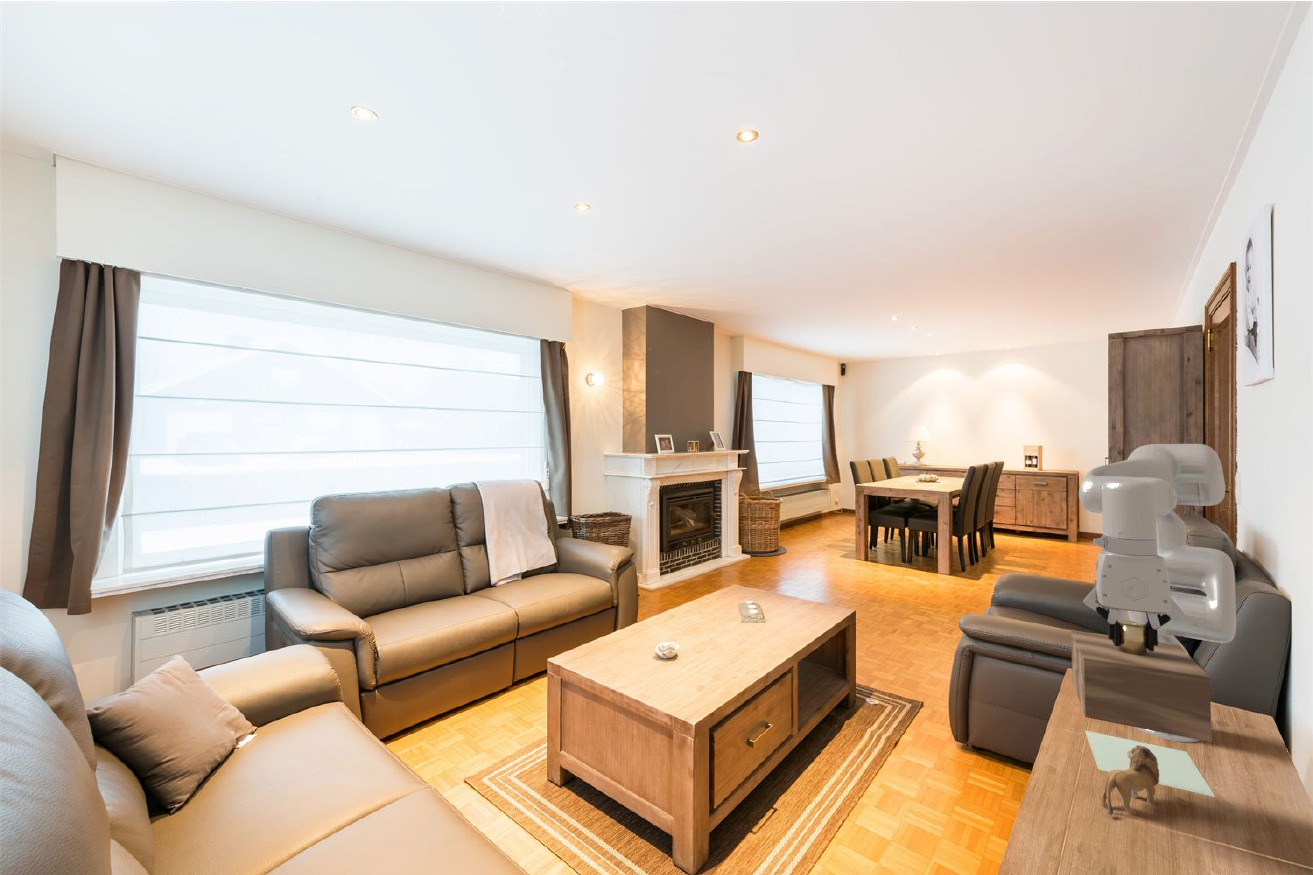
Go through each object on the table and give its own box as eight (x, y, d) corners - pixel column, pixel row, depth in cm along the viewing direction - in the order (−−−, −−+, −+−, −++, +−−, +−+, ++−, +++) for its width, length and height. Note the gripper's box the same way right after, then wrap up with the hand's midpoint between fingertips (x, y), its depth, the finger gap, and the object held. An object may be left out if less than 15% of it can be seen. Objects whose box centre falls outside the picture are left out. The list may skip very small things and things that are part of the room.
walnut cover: (1072, 682, 109) (1070, 605, 109) (1180, 700, 101) (1178, 618, 101) (1085, 717, 95) (1083, 629, 96) (1211, 742, 87) (1208, 646, 87)
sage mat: (1084, 732, 121) (1084, 730, 121) (1186, 753, 112) (1186, 751, 112) (1098, 771, 107) (1098, 769, 107) (1216, 799, 98) (1216, 797, 98)
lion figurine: (1131, 784, 103) (1129, 737, 103) (1167, 800, 98) (1166, 751, 98) (1093, 810, 96) (1091, 759, 96) (1130, 828, 91) (1128, 775, 91)
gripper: (1075, 546, 100) (1078, 644, 99) (1199, 554, 91) (1202, 662, 91) (1069, 540, 106) (1072, 632, 106) (1185, 547, 97) (1188, 648, 97)
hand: (1132, 645), depth 98 cm, fingers closed on walnut cover, 4 cm apart
